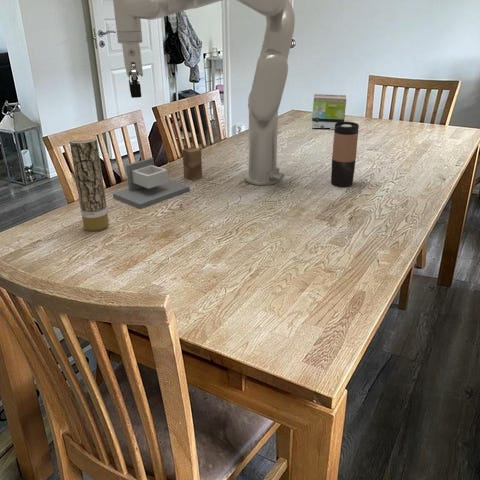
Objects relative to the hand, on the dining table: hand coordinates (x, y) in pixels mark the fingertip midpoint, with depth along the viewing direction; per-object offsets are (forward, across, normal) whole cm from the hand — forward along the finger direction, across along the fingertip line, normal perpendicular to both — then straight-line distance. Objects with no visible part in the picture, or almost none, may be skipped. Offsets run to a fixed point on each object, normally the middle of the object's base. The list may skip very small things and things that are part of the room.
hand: (135, 94), depth 159 cm
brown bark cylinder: (+29, -37, +15) cm, 50 cm away
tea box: (+29, +53, -90) cm, 108 cm away
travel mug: (+29, -22, -64) cm, 74 cm away
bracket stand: (+29, -16, -2) cm, 33 cm away
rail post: (+29, -3, -17) cm, 33 cm away
